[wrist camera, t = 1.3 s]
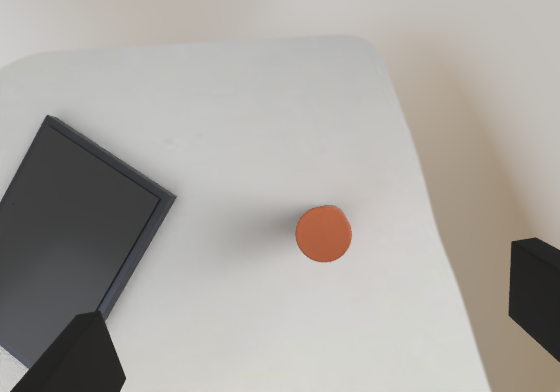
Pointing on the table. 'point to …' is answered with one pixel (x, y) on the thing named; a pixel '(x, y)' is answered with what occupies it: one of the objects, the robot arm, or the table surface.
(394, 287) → the table surface
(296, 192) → the table surface
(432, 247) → the table surface
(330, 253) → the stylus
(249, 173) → the table surface
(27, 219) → the plate
